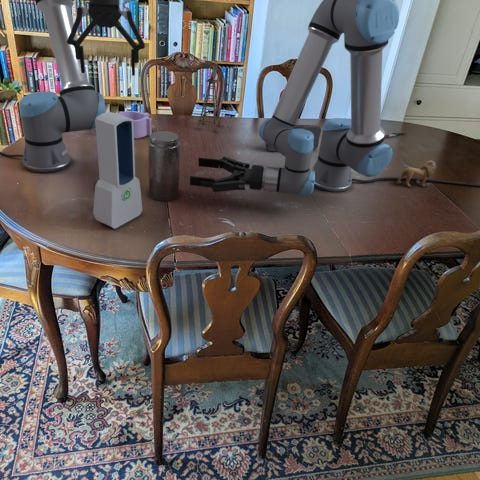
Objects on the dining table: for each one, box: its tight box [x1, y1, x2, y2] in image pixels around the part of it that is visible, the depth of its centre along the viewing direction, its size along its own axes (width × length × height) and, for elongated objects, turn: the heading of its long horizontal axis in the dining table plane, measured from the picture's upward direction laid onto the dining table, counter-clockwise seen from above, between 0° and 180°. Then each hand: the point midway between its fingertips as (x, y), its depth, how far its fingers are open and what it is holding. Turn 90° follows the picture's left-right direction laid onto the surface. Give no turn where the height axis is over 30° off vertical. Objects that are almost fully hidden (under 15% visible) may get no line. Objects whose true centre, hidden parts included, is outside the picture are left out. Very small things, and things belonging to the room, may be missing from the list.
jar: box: [148, 130, 181, 202], centre depth 144 cm, size 9×9×20 cm
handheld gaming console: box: [264, 124, 322, 152], centre depth 189 cm, size 23×3×10 cm, turn 108°
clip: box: [115, 110, 153, 139], centre depth 188 cm, size 20×12×7 cm, turn 109°
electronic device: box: [92, 111, 143, 230], centre depth 126 cm, size 12×8×30 cm, turn 148°
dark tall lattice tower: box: [196, 56, 221, 133], centre depth 196 cm, size 9×8×30 cm
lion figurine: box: [396, 159, 436, 188], centre depth 171 cm, size 15×5×9 cm, turn 110°
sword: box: [385, 132, 408, 139], centre depth 213 cm, size 31×3×1 cm, turn 126°
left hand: (108, 73), depth 131 cm, fingers open, 13 cm apart
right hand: (194, 170), depth 143 cm, fingers open, 13 cm apart
